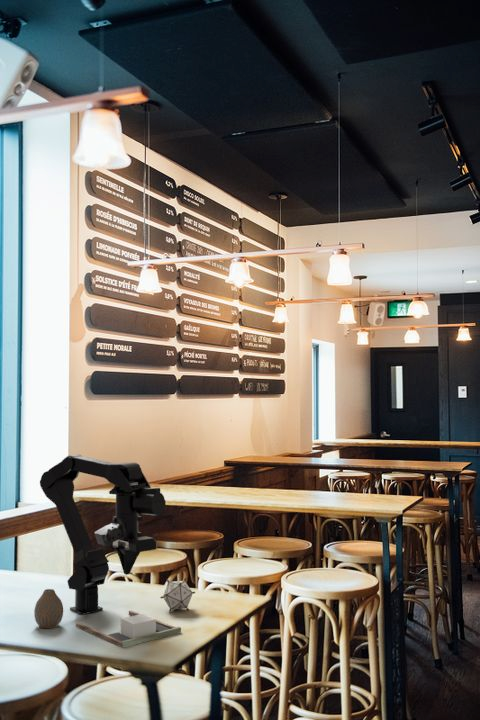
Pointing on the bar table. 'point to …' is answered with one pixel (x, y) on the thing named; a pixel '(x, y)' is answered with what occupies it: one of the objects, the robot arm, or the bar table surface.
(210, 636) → the bar table surface
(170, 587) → the game die
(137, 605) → the bar table surface
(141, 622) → the block
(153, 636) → the wood-trimmed serving tray
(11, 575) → the bar table surface
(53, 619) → the vase
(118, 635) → the dark grey rectangular slab
